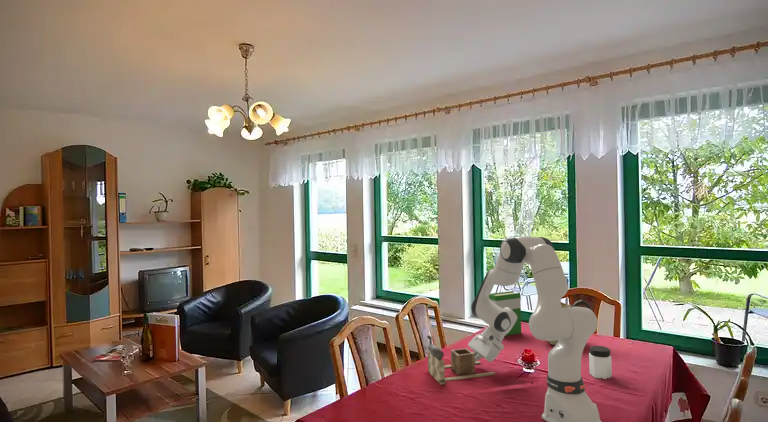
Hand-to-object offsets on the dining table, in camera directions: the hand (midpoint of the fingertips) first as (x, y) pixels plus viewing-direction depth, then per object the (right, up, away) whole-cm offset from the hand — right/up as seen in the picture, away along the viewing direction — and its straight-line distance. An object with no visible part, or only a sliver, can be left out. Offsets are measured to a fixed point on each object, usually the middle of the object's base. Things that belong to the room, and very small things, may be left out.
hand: (471, 361), depth 205 cm
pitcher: (+58, -4, +41) cm, 71 cm away
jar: (+56, -4, -7) cm, 56 cm away
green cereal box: (+32, -4, +61) cm, 69 cm away
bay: (-5, -6, -1) cm, 8 cm away
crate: (-4, -4, -1) cm, 6 cm away
